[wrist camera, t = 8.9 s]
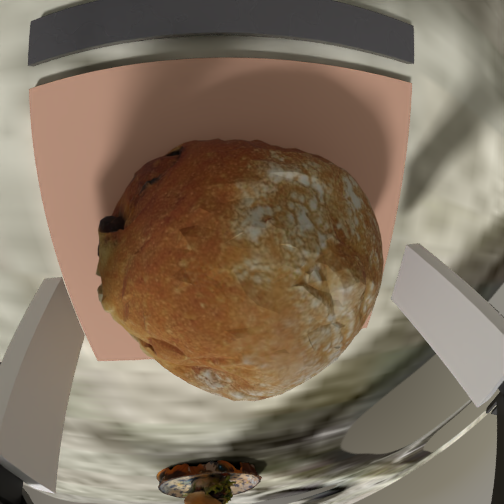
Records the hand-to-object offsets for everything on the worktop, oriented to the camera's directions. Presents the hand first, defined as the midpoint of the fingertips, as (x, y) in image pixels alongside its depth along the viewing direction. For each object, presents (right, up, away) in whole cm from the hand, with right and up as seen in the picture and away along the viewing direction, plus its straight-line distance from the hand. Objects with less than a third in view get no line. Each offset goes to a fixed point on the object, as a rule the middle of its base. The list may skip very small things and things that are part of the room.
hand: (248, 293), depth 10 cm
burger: (-5, -24, +16) cm, 30 cm away
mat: (-1, +2, +2) cm, 3 cm away
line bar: (-1, +10, -2) cm, 10 cm away
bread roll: (-1, +2, +2) cm, 3 cm away
